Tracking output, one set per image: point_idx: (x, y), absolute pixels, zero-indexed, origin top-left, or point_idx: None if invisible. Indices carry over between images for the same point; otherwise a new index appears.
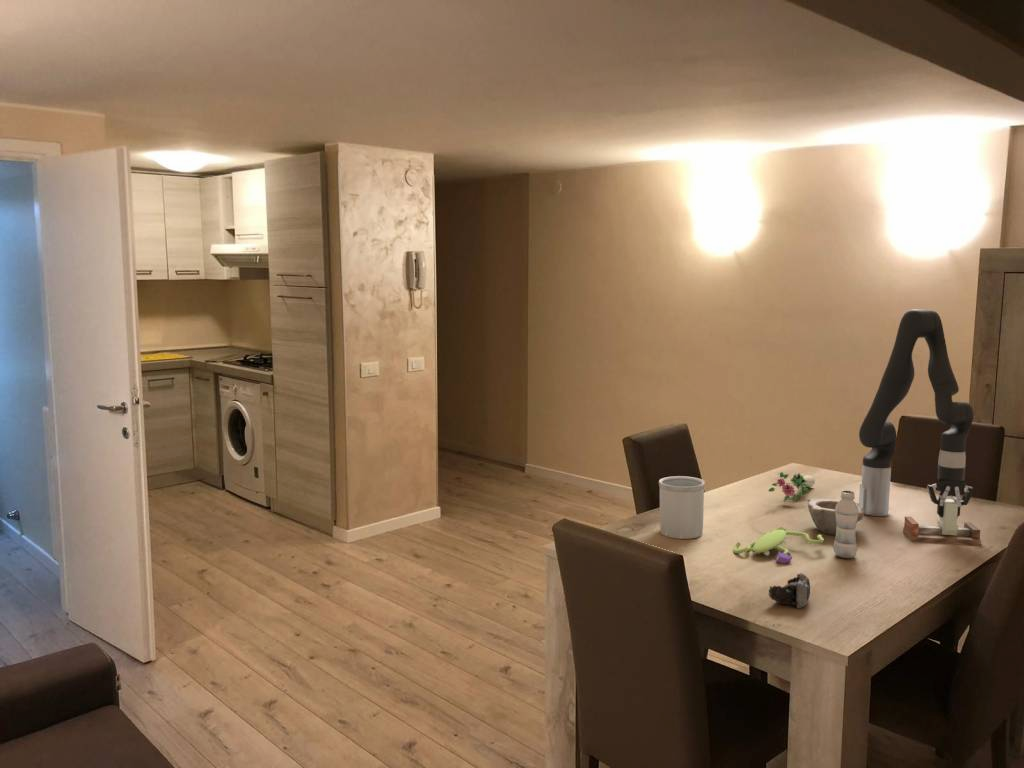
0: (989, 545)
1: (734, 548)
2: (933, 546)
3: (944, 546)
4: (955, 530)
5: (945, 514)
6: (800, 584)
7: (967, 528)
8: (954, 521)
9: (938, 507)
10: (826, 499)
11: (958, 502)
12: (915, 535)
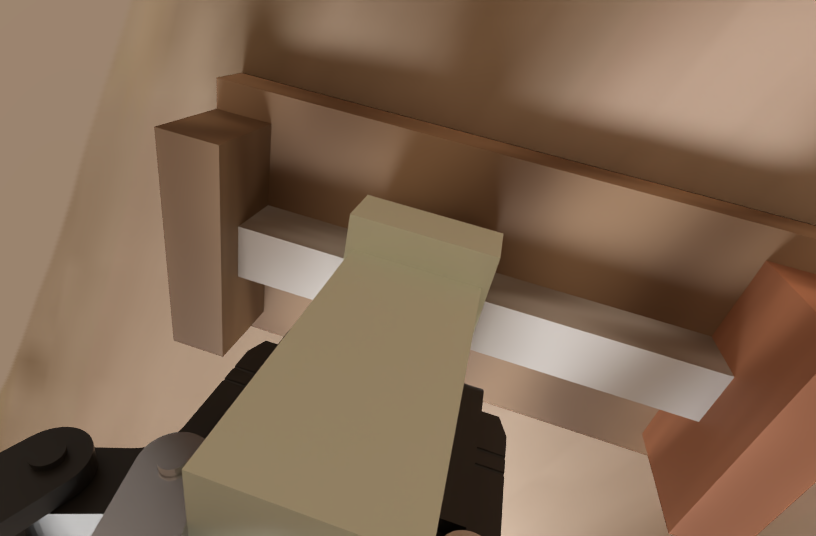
0: (176, 60)
1: None
2: (729, 54)
3: (601, 48)
4: (392, 203)
5: (458, 370)
6: None
7: (242, 266)
8: (363, 277)
9: (496, 529)
10: None
11: (154, 512)
12: (794, 271)
